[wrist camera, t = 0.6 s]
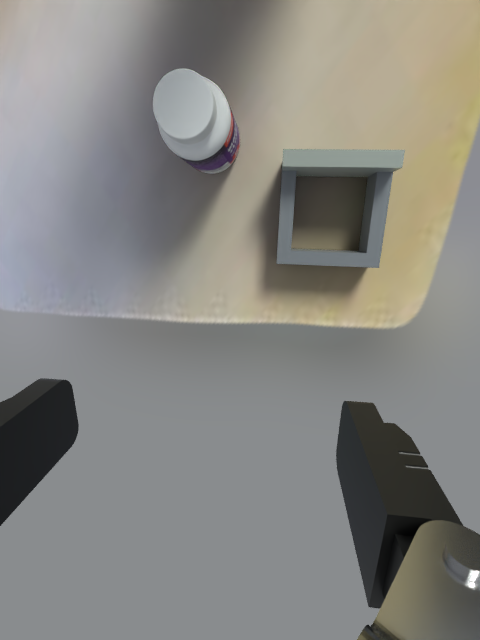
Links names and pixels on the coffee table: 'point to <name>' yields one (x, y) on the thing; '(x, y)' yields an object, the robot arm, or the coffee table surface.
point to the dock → (339, 165)
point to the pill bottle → (196, 120)
